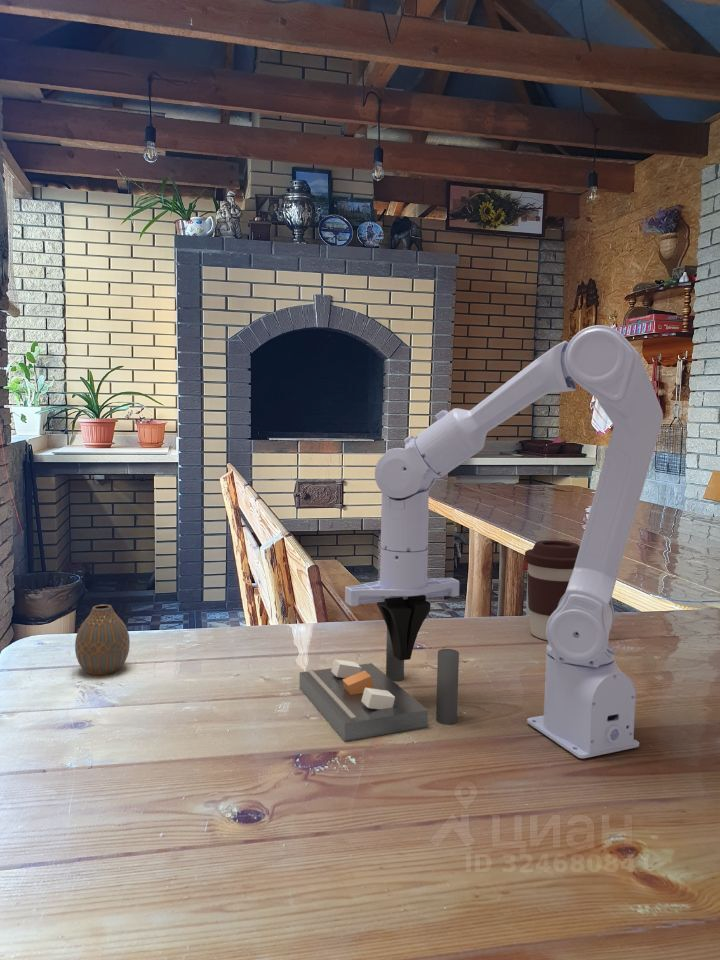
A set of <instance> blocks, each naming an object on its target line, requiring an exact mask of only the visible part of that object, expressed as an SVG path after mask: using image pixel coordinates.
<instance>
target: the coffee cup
mask: <svg viewBox="0 0 720 960" xmlns="http://www.w3.org/2000/svg"><path fill="white" fill-rule="evenodd" d="M579 548H580V544H577V543H575V542H571V541H565V540H555V539H554V540H553V539H551V540H548V539H545V540H539V541H536V542H535V543H534V545H533V547H532V548H529V549H527V550H525V552H524V561H525V563H526V564H528V565H527V566H528V572H527V577H526V579H527V605H528V609H529V627H530V628H529V630H530V631H529V632H530V633H531V635H532V636H534V637H535V638H537V639H540V640H543V641H548V640H547V636H546V625H547V621H548V619H549V617H550V616H551V614H552V613H553V612H554V611H555V610H556V609H557V607H558V604H559V601H560V599H561V598H562V596H563V595H564V594H565V592H566V589H567V586H568V583H569V581H570V578H571V575H572V572H573V569H574V566H575V562H576V559H577V555H578V552H579Z"/></svg>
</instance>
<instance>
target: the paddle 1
mask: <svg viewBox="0 0 720 960" xmlns="http://www.w3.org/2000/svg"><path fill="white" fill-rule="evenodd" d="M359 665H360V664H359V663H357V662H355V661H349V660H342V659H337V658H335V659H333V662H332V666H331V668H332V670H331V672H332V673H333V674H334V675H335V676H336V677H341V678H348V677H350V676H352V675H355V674H357V673H360V671H361V667H360V666H359Z"/></svg>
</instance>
